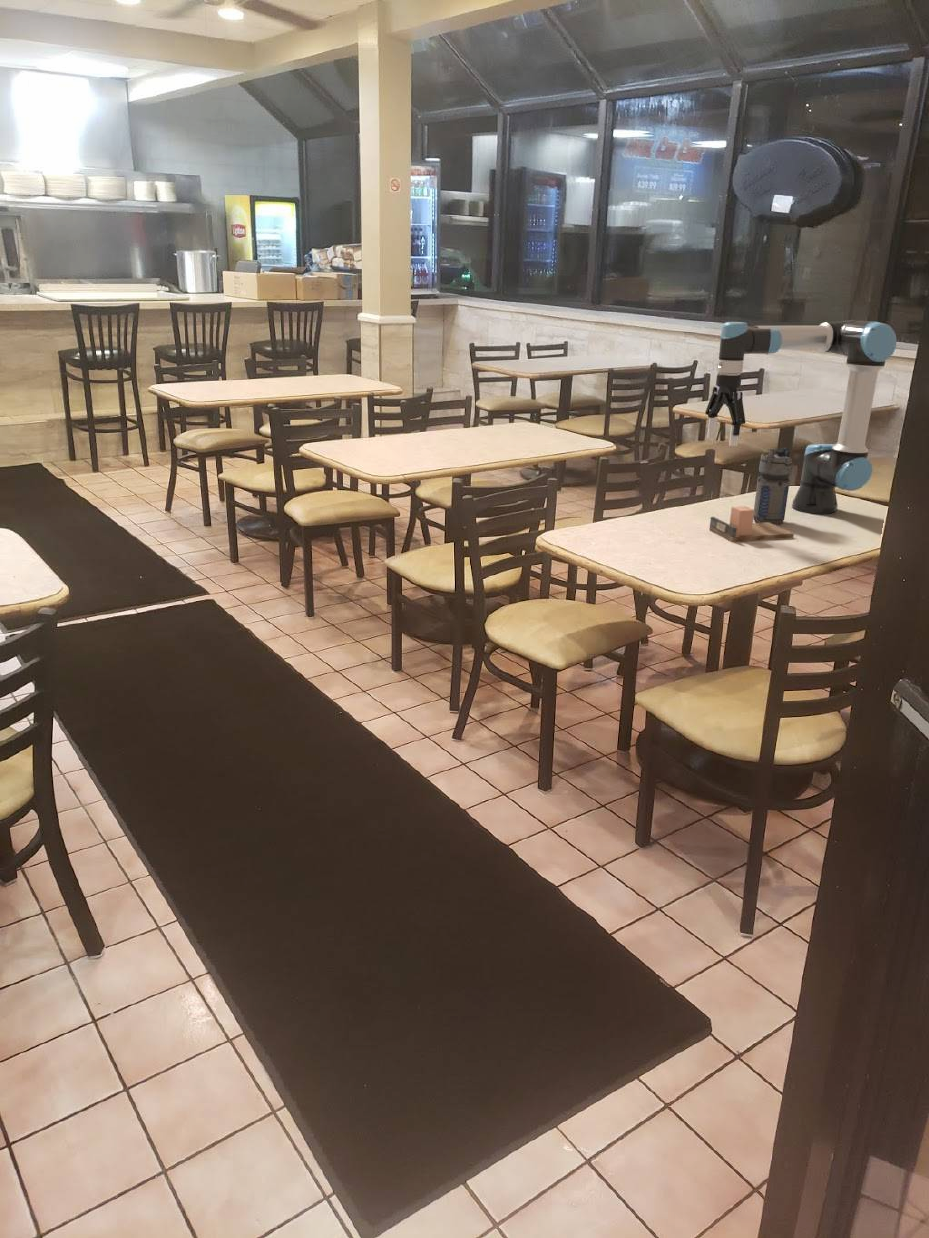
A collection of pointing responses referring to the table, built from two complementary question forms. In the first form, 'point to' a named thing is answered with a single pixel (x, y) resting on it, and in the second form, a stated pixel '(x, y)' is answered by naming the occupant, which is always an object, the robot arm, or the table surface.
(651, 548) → the table surface
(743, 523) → the carton block
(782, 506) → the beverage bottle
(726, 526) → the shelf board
